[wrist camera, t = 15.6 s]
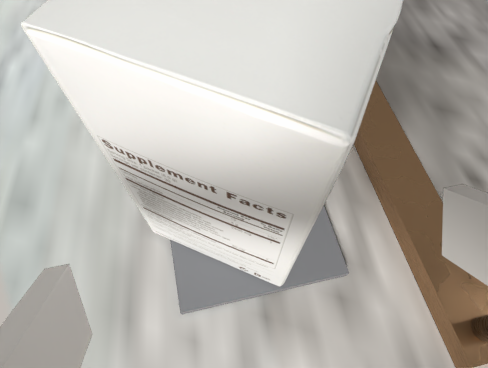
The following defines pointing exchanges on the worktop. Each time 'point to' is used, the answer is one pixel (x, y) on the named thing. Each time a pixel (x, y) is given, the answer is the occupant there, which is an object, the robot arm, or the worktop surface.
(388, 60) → the worktop surface
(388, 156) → the cabinet door handle
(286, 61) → the supplement box
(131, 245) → the worktop surface
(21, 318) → the robot arm
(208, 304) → the mat
